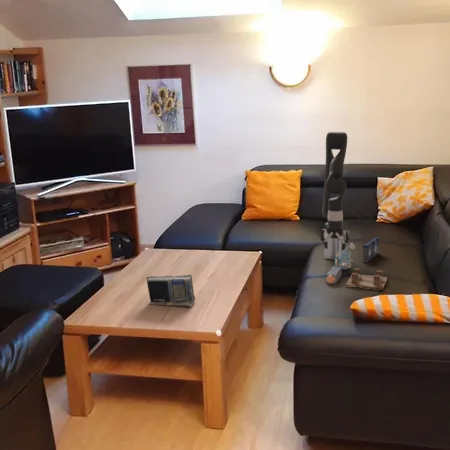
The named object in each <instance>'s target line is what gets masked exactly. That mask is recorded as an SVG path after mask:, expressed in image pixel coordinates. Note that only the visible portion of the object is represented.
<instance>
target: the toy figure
mask: <svg viewBox="0 0 450 450" xmlns="http://www.w3.org/2000/svg"><path fill="white" fill-rule="evenodd" d="M355 248H356V246H355V244H354V243H353V242H351V243H350V244H349V245H346V248H345V249H344V250H342V249H341V253H340V255H339V259H338V253H337V254H336V257H335V259H334V266H335V267H341V271H342V270H343V271H346V270H348V269H349V268H352V263H351V261H352V262H353V261H354V260H352V259H351V252H349V249H351V250H355Z"/></svg>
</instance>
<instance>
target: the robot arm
mask: <svg viewBox="0 0 450 450" xmlns="http://www.w3.org/2000/svg"><path fill="white" fill-rule="evenodd" d="M347 145H348V134H347V133H346V132H343V131H328V132H327V133H326V136H325V167H324V176H323V177H324V181H323V184H324V186H323V199H322V208H321V213H322V216H323V217H325V218H327V222H325V223H324V227H323V228H322V229H321V231H320V241H321V242H323V243H324V255H323V257H324V258H325V259H327V260H335V257H336V254H337V253H338V259H339V255H340V253H341V251H342V250H344V249H345V248H346V247H347V243H349V242H350V230H349V229H346V230H344V228H343V227H344V225H343V223H344V222H343V221H344V213H343V207H344V206H343V204H344V202H343V201H344V196H345V193H346V191H347V185H348V184H347V182H346V181H345V180H343V178H344V165H345V159H346V155H347V154H346V153H347V148H348V147H347ZM334 150H335V151H337V150H339V152H338V153H337V154H336V155H335V156H334V153H333V151H334ZM333 195H337V196H336V197H332V196H333ZM343 234H344V235H345V237H344V236H343Z"/></svg>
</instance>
